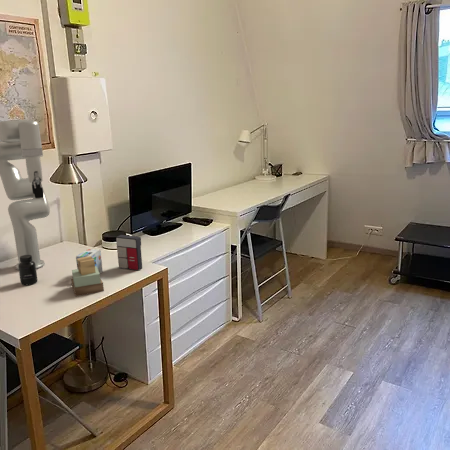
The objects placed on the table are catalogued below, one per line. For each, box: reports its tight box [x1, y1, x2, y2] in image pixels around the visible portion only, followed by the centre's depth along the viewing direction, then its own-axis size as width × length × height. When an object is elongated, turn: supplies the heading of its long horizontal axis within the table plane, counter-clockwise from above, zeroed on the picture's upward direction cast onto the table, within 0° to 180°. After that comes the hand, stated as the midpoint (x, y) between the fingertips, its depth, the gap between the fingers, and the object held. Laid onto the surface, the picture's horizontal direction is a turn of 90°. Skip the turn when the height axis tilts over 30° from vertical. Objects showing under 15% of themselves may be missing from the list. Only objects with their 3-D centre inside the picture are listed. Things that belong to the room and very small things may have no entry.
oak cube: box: [76, 256, 96, 275], centre depth 186 cm, size 6×6×6 cm
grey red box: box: [115, 234, 143, 271], centre depth 209 cm, size 11×4×15 cm, turn 68°
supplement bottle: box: [18, 255, 38, 286], centre depth 196 cm, size 7×7×12 cm
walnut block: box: [70, 278, 105, 297], centre depth 189 cm, size 11×11×4 cm
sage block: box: [71, 266, 101, 287], centre depth 188 cm, size 10×10×4 cm
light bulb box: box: [75, 248, 104, 275], centre depth 202 cm, size 11×7×11 cm, turn 168°
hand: (38, 195), depth 185 cm, fingers open, 9 cm apart
